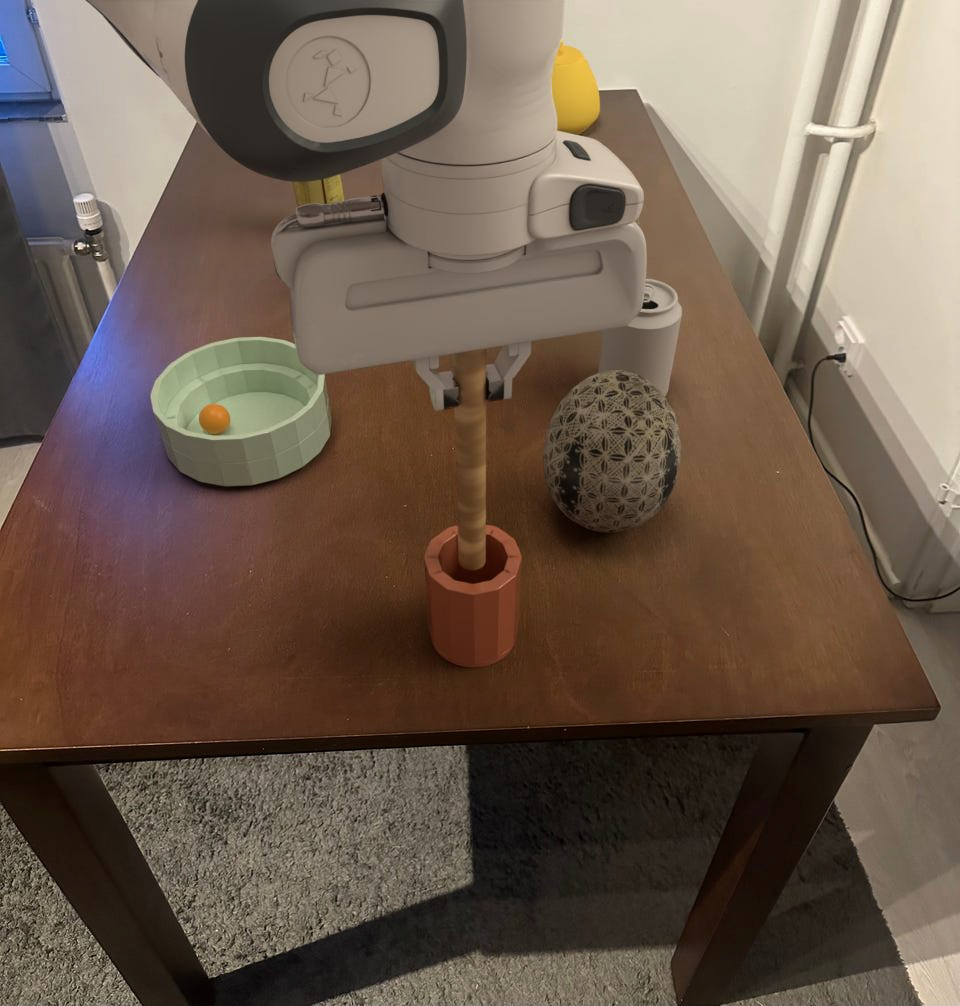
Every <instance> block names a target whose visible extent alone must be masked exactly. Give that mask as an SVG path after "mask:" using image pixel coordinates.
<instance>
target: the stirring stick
mask: <svg viewBox="0 0 960 1006" xmlns="http://www.w3.org/2000/svg"><path fill="white" fill-rule="evenodd" d="M487 351H488V348H487V349H481V350H474V351H468V352H462V353H455V354H452V366H453V367H452V368H453V370H452V373H453V376H454V380H455V381H456V383H457V385H458V391H459V396H458V398H457V399H458V401H459V407H458V408H454V439H455V441H454V442H455V443H454V444H455V470H456V471H455V472H456V473H455V477H456V479H455V480H456V508H457V510H456V512H457V525H458V552H459V563H460V565H461V566H462V567H463V568H464V569H467V570H477V569H480V568H481V567H483V566H484V564H485V562H486V525H487V399H486V365H487Z"/></svg>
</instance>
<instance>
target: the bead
mask: <svg viewBox="0 0 960 1006" xmlns="http://www.w3.org/2000/svg"><path fill="white" fill-rule="evenodd" d="M199 423H200V426H201V427H202V429H203V430H204V431H206V432H207V433H210V434H220V433H222V432H224V431H225V430H226V429H227V428H228V427H229V424H230V415H229V412H228V411H227V409H226V408H224V407H223V406H221V405H219V404H209V405H207V406H205V407H204V408H203V409H202V410H201V412H200V414H199Z"/></svg>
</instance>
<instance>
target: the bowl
mask: <svg viewBox="0 0 960 1006" xmlns="http://www.w3.org/2000/svg"><path fill="white" fill-rule="evenodd" d="M154 380H155V381H154V384H153V386H152V389H151V391H150V392H151V393H150V395H149V397H150V403H151V409H152V413H153V416H154V419H155V421H156V424H157V427H158V431H159V434H160V437H161V440H162V443H163V446H164V449H165V452H166V455H167V458H168V459H169V461H170V462H171V463H172V464H173V465H174V466H175V468H176V469H177V471H179V472H180V473H182V474H184V475H186V476H188V477H189V478H192V479H193V480H195V481H197V482H200V483H206V484H210V485H215V486H220V487H240V486H241V487H243V486H255V485H258V484H262V483H267V482H271V481H275V480H279V479H281V478H283V477H285V476H288V475H290V474H291V473H293V472H295V471H297V470H299V469H302V468H303V467H305V466H306V465H307V464H308V463H310V462H311V461H312V460H313V459H314V458H316V457H317V456H318V455H319V454H320V453H321V452H322V450H323V449H324V447H325V445H326V443H327V441H328V440H329V438H330V437H331V431H332V430H331V428H332V419H333V418H332V412H331V407H330V400H329V392H328V387H327V379H326V374H322V375H317V374H314V373H313V372H311V371H310V370H308V369H307V368H306V367H305V366H303V365H302V364H301V363H300V362H299V359H298V356H297V352H296V347H295V343H293V342H292V341H289V340H285V339H279V338H273V337H268V336H267V337H266V336H245V337H244V336H243V337H233V338H228V339H223V340H218V341H213V342H210V343H208V344H205V345H203V346H200V347H198V348H195V349H192V350H189V351H188V352H186V353H184V354H183V355H182V356H180V357H178V358H177V359H175V360H174V361H172V362H170V363H169V364H168V365H167V366H166V367H165V369H163V371H162V372H161V373H160V374H159V375H158V377H157V378H156V379H154ZM209 404H219V405H221V406H223V407H224V408H226V409H227V411H228V412H229V415H230V424H229V427H228V428H227V429H226V430H225V431H224V432H222V433H220V434H210V433H207V432H206V431H204V430H203V429H202V427H201V426H200V423H199V414H200V412H201V410H202V409H203V408H204V407H205V406H207V405H209Z"/></svg>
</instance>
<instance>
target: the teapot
mask: <svg viewBox="0 0 960 1006" xmlns="http://www.w3.org/2000/svg"><path fill="white" fill-rule="evenodd" d="M552 96H553V101H554V105H555V109H556V114H557V131H561V132H566V133H570V134H575V135H581V134H582V133H584V132H586V131H587V130H588V129H589V128H590V127H591V126H592V125H593V124H594V122H596V121H597V119H598V117H599V115H600V112H601V99H600V92H599V86H598V83H597V79H596V77H595V75H594V73H593V70H592V69H591V66H590V64H589V61H587V59H586V57H585V56H584V54H583V53H582V52H581V50H579V49H577V48H575V47H573V46H570V45H565V44H564V40H563V38H562V39H561V43H560V47H559V50H558V53H557V55H556V58H555V62H554V66H553V72H552Z"/></svg>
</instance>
